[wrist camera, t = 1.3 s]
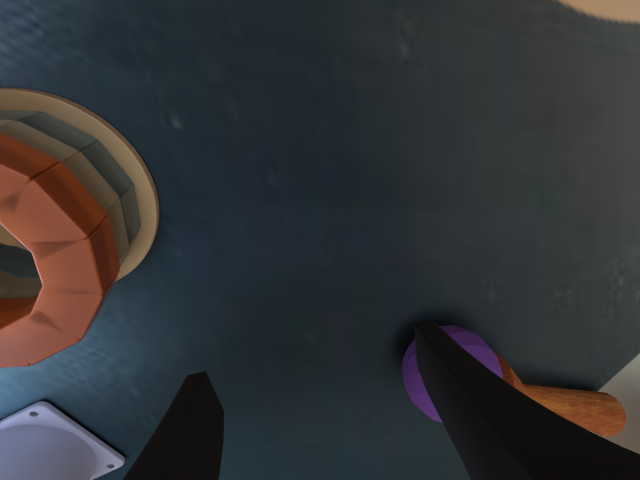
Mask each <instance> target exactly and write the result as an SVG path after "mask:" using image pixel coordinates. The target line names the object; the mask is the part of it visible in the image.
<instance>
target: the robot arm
mask: <svg viewBox="0 0 640 480" xmlns="http://www.w3.org/2000/svg"><path fill="white" fill-rule="evenodd" d="M414 332H415V346H416V360H417V367H418V370H419V373H420V375H421V378H422V381H423V383H424V386H425V388H426V391H427V393H428V395H429V397H430V399H431V401H432V403H433V405H434V407H435V409H436V411H437V413H438V415H439V417H440V419H441V421H442V422H443V424H444V426H445V428H446V430H447V432H448V434H449V436H450V438H451V440H452V442H453V443H454V445H455V447H456V449H457V451H458V453H459V455H460V457H461V459H462V461H463V463H464V465H465V467H466V469H467V472H468V474H469V476H470V479H471V480H640V454H638V453H635V452H633V451H631V450H628V449H626V448H623V447H621V446H619V445H617V444H615V443H612V442H610V441H608V440H606V439H604V438H602V437H600V436H598V435H596V434H594V433H592V432H590V431H588V430H586V429H584V428H582V427H580V426H579V425H577V424H575V423H573V422H571V421H569V420H567V419H566V418H564V417H562V416H560V415H558V414H556V413H555V412H553V411H551V410H549V409H548V408H546V407H544V406H543V405H541V404H539V403H538V402H536V401H535V400H533V399H531V398H530V397H528V396H527V395H525V394H524V393H522V392H521V391H519V390H518V389H516V388H515V387H513V386H512V385H510V384H509V383H507V382H506V381H505V380H503V379H502V378H501V377H499V376H498V375H497V374H495V373H494V372H492V371H491V370H490V369H489V368H487V367H486V366H485V365H483V364H482V363H481V362H480V361H478V360H477V359H476V358H475V357H473V356H472V355H471V354H470V353H469V352H467V351H466V350H465V349H464V348H463V347H461V346H460V345H459V344H458V343H457V342H456V341H455V340H454V339H452V338H451V337H450V336H449V335H448V334H447V333H446V332H445V331H444V330H443V329H441V328H440V327H439V326H438V325H437V324H436V323H435V322H434V321H432V320H428V321H424V322H419V323H415V324H414ZM223 436H224V410H223V408H222V406H221V404H220V401H219V399H218V397H217V395H216V393H215V391H214V388H213V386H212V384H211V382H210V380H209V378H208V375H207V373H206V371H204V372H200V373H196V374H191V375H188V376H187V377H186V379H185V380H184V382H183V384H182V385H181V387H180V389H179V391H178V392H177V394H176V396H175V398H174V399H173V401H172V403H171V405H170V406H169V408H168V410H167V411H166V413H165V415H164V417H163V418H162V420H161V421H160V423H159V425H158V426H157V428H156V430H155V431H154V433H153V435H152V436H151V438H150V439H149V441H148V443H147V444H146V446H145V447H144V449H143V450H142V452H141V453H140V455H139V456H138V458H137V459H136V461H135V462H134V464H133V465H132V467H131V468H130V469H129V471H128V472H127V474H126V475H125V476H124V478H123V479H122V480H219V472H220V465H221V457H222V449H223ZM124 461H125V458H124V457H123V456H122V455H121V454H119V453H118V452H117V451H115V450H114V449H112V448H111V447H110V446H108V445H107V444H105V443H104V442H103V441H101V440H100V439H98V438H97V437H96V436H94V435H93V434H91V433H90V432H89V431H87V430H86V429H84V428H83V427H82V426H80V425H79V424H77V423H76V422H75V421H73V420H72V419H70V418H69V417H68V416H66V415H65V414H63V413H62V412H61V411H59V410H58V409H56V408H55V407H54V406H52V405H51V404H49V403H48V402H45V401H39V402H36V403H34V404H32V405H30V406H28V407H26V408H24V409H22V410H20V411H18V412H16V413H14V414H12V415H10V416H8V417H6V418H4V419H2V420H0V480H93V479H95V478H97V477H100V476H102V475H104V474H106V473H108V472H110V471H113V470H115V469H117V468H119V467H121V466H123V464H124Z"/></svg>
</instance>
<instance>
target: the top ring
mask: <svg viewBox="0 0 640 480" xmlns="http://www.w3.org/2000/svg"><path fill="white" fill-rule="evenodd" d="M107 215H108V214H107V212H106V211H105V210H104V209H103V208H102V206H101V205H100V204H99V203H98V202H97V201H96V200H95V199H94V198H93V196H92V195H91V194H90V193H89V192H88V191H87V190H86V189H85V187H84V186H83V185H82V184H81V183H80V182H79V181H78V180H77V178H76V177H75V176H74V175H73V174H72V173H71V172H70V171H69V169H68V168H67V167H66V166H65V165H64V164H63V163H62V162H61V163H59V160H57V159H55V158H53V157H51V156H49V155H47V154H45V153H43V152H41V151H39V150H36V149H34V148H32V147H30V146H28V145H26V144H24V143H22V142H20V141H17V140H15V139H13V138H11V137H9V136H7V135H5V134H3V133H1V132H0V224H1V225H3V226H4V227H5V228H6V229H7V230H8V231H9V232H10V233H11V234H12V235H13V236H14V237H15V238H17V239H18V240H19V241H20V242H21V243H22V244H23V245H24V246H25V247H26V248H27V249H28V250H29V251H31V253H32V256H33V259H34V262H35V265H36V268H37V271H38V274H39V277H40V280H41V282H42V287H41V289H40V292H39V293H38V294H36V295H34V296H32V297H30V298H18V299H0V368H2V367H22V366H30V365H31V364H32V365H34V364H36V363H38V362H40V361H42V360H44V359H46V358H48V357H50V356H52V355H54V354H56V353H58V352H60V351H62V350H64V349H65V348H67V347H69V346H71V345H73V344H75V343H77V342H79V341H80V340H81V339H83V338H84V336H85V334H86V333H87V331H88V330H89V328H90V326H91V325H92V323H93V321H94V320H95V318H96V316H97V315H98V313H99V311H100V310H101V308H102V306H103V304H104V302H105V300H106V298H107V296H108V294H109V292H110V290H111V288H112V286H113V284H114V282H115V280H116V278H117V276H118V274H119V272H120V263H119V259H118V254H117V250H116V245H115V241H114V236H113V231H112V227H111V222H110V218H109V216H107Z"/></svg>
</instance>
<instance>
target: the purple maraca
mask: <svg viewBox="0 0 640 480" xmlns="http://www.w3.org/2000/svg"><path fill="white" fill-rule="evenodd" d="M439 327H440V328H441V329H443V330H444V331H445V332H446V333H447V334H448V335H449V336H450V337H451V338H452V339H454V340H455V341H456V342H457V343H458V344H459V345H460V346H461V347H463V348H464V349H465V350H466V351H467V352H469V353H470V354H471V355H472V356H473V357H475V358H476V359H477V360H478V361H480V362H481V363H482V364H483V365H485V366H486V367H487V368H489V369H490V370H491V371H492V372H494V373H495V374H497V375H498V376H499V377H501V378H502V379H503V380H505V381H506V382H507V383H509V384H510V385H512V386H513V387H515V388H516V389H518V390H519V391H521V392H522V393H524V394H525V395H527V396H528V397H530V398H531V399H533V400H535V401H536V402H538V403H539V404H541V405H543V406H544V407H546V408H548V409H549V410H551V411H553V412H555V413H556V414H558V415H560V416H562V417H564V418H566V419H567V420H569V421H571V422H573V423H575V424H577V425H579V426H580V427H582V428H585V429H587V430H589V431H592V432H594V433H596V434H599V435H603V436H608V437H609V436H613V435H617V434H618V433H619V432H620V431H622V430H623V428H624V426H625V423H626V416H625V411H624V409H623V407H622V405H621V403H620V402H618V400H617V399H615V398H614V397H613V396H611V395H609V394H607V393H603V392H594V391H584V390H575V389H565V388H555V387H546V386H536V385H527V384H522V382H521V381H520V380H519V378H518V377H517V375H516V374H515V373H514V371H513V370H512V369H511V367H510V366H509V365H508V364H507V362H506V361H505V360H504V359H503V357H502V356H500V355H498V354H496V353H494V352H493V351H492V350H491V349H490V347H489V346H488V345H487V344H486V342H485V341H484V340H483V339H482V338H481V337H480V336H479V335H477V334H475V333H473V332H471V331H469V330H467V329H464V328H461V327H458V326H455V325H445V326H439ZM402 373H403V380H404V384H405V388H406V390H407V392H408V395H409V397H410V399H411V401H412V402H413V403H414V404H415V405H416V406H418V407H419V408H420V409H421V410H422V411H423V412H424V413H425V414H427V415H428V416H429V417H430V418H431V419H432V420H435V421H439V422H442V421H441V419H440V417H439V415H438V413H437V411H436V409H435V407H434V405H433V403H432V401H431V399H430V397H429V395H428V393H427V391H426V388H425V386H424V383H423V381H422V378H421V375H420V373H419V370H418V367H417V360H416V346H415V339H414V341H413V342H412V343H411V344H410V346H409V347H408V348H407V350H406V353H405V355H404V358H403V365H402Z"/></svg>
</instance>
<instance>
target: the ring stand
mask: <svg viewBox="0 0 640 480" xmlns="http://www.w3.org/2000/svg"><path fill="white" fill-rule="evenodd" d="M0 132H1V133H3V134H5V135H7V136H9V137H11V138H13V139H15V140H17V141H20V142H22V143H24V144H26V145H28V146H30V147H32V148H34V149H36V150H39V151H41V152H43V153H45V154H47V155H49V156H51V157H53V158H55V159H57V160H59V163H61V162H62V163H63V164H64V165H65V166H66V167H67V168H68V169H69V171H70V172H71V173H72V174H73V175H74V176H75V177H76V178H77V180H78V181H79V182H80V183H81V184H82V185H83V186H84V187H85V189H86V190H87V191H88V192H89V193H90V194H91V195H92V196H93V198H94V199H95V200H96V201H97V202H98V203H99V204H100V205H101V206H102V208H103V209H104V210H105V211H106V212H107V214H108V215H107V216H109V218H110V222H111V227H112V231H113V236H114V241H115V245H116V250H117V254H118V259H119V263H120V272H119V274H118V276H117V278H116V280H115V281H118V280H119V279H121V278H123V277H124V276H126V275H127V274H129V273H130V272H131V271H132V270H134V269H135V268H136V267H137V266H138V265H139V264H140V262H141V261H142V260H143V259H144V258H145V256H146V254H147V253H148V251H149V250H150V248H151V246H152V244H153V241H154V239H155V237H156V234H157V229H158V225H159V214H160V212H159V200H158V196H157V191H156V187H155V185H154V182H153V179H152V177H151V174H150V172H149V170H148V169H147V167H146V165H145V163H144V161H143V160H142V158H141V157H140V155H139V154H138V153H137V151H136V150H135V149H134V147H133V146H132V145H131V144H130V143H129V142H128V140H127V139H126V138H125V137H124V136H123V135H122V134H121V133H119V132H118V131H117V130H116V129H115V128H114V127H113V126H112V125H110V124H109V123H108V122H106V121H105V120H104V119H102V118H101V117H100V116H98V115H97V114H95V113H93V112H92V111H90V110H88V109H87V108H85V107H83V106H81V105H79V104H77V103H75V102H72V101H70V100H68V99H65V98H63V97H60V96H57V95H54V94H51V93H47V92H42V91H38V90H34V89H25V88H16V87H13V88H0ZM41 287H42V282H41V280H40V277H39V274H38V271H37V268H36V265H35V262H34V259H33V256H32V253H31V251H29V250H28V249H27V248H26V247H25V246H24V245H23V244H22V243H21V242H20V241H19V240H18V239H17V238H15V237H14V236H13V235H12V234H11V233H10V232H9V231H8V230H7V229H6V228H5V227H4V226H3V225H1V224H0V299H18V298H30V297H32V296H34V295H36V294H38V293H39V292H40V289H41Z"/></svg>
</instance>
